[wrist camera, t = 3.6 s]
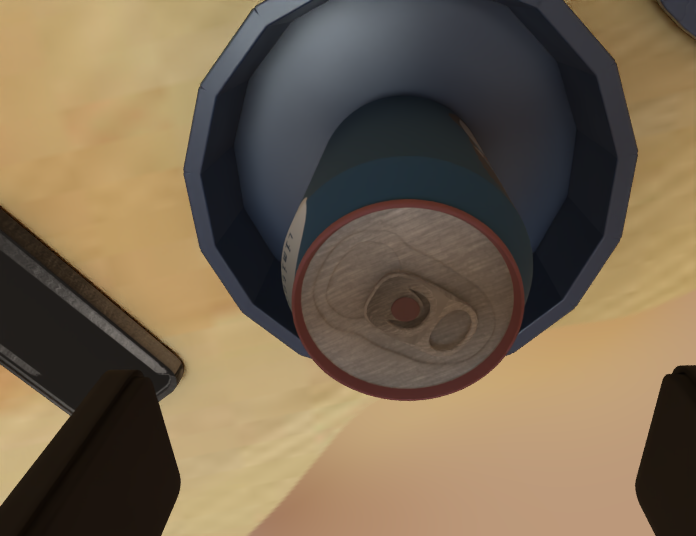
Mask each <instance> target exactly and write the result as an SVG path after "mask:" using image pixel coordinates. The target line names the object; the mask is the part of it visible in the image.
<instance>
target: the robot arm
mask: <svg viewBox="0 0 696 536" xmlns="http://www.w3.org/2000/svg"><path fill="white" fill-rule="evenodd" d="M180 484H181V479H180V474H179V470H178V467H177V463H176V460H175V457H174V453H173V450H172V447H171V443H170V440H169V436H168V433H167V430H166V426H165V423H164V420H163V416H162V413H161V409H160V406H159V403H158V399H157V396H156V393H155V389H154V386H153V383H152V380H151V379H150V378H148V377H144V375H143V373H142V372H141V371H140V370H108V371H106V372H105V373H104V374H103V375H102V376H101V377H100V379H99V380H98V381H97V383H96V384H95V385H94V387H93V388H92V389H91V390H90V392H89V393H88V394H87V396H86V397H85V398H84V399H83V401H82V402H81V403H80V405H79V406H78V407H77V408H76V410H75V411H74V412H73V414H72V415H71V416H70V417H69V419H68V420H67V421H66V423H65V424H64V425H63V426H62V428H61V429H60V430H59V432H58V433H57V434H56V435H55V437H54V438H53V439H52V441H51V442H50V443H49V444H48V446H47V447H46V448H45V450H44V451H43V452H42V453H41V455H40V456H39V457H38V459H37V460H36V461H35V462H34V464H33V465H32V466H31V468H30V469H29V470H28V471H27V473H26V474H25V475H24V477H23V478H22V479H21V480H20V482H19V483H18V484H17V486H16V487H15V488H14V489H13V491H12V492H11V493H10V495H9V496H8V497H7V499H6V500H5V501H4V502H3V504H2V505H1V506H0V536H161V535H162V532H163V530H164V528H165V525H166V523H167V521H168V518H169V516H170V514H171V511H172V509H173V507H174V504H175V502H176V500H177V497H178V494H179V491H180ZM635 487H636V494H637V498H638V501H639V504H640V506H641V508H642V510H643V512H644V513H645V516H646V518H647V519H648V522H649V524H650V525H651V527H652V529H653V531H654V533H655V535H656V536H696V365H693V366H692V365H691V366H688V365H686V366H677V367H676V368H675V369H674V371H673V373H672V374H667V375H666V376H665V377H664V378H663V381H662V384H661V388H660V392H659V395H658V399H657V403H656V407H655V410H654V415H653V418H652V422H651V425H650V429H649V433H648V437H647V440H646V444H645V448H644V452H643V456H642V459H641V463H640V467H639V470H638V474H637V478H636V483H635Z"/></svg>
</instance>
